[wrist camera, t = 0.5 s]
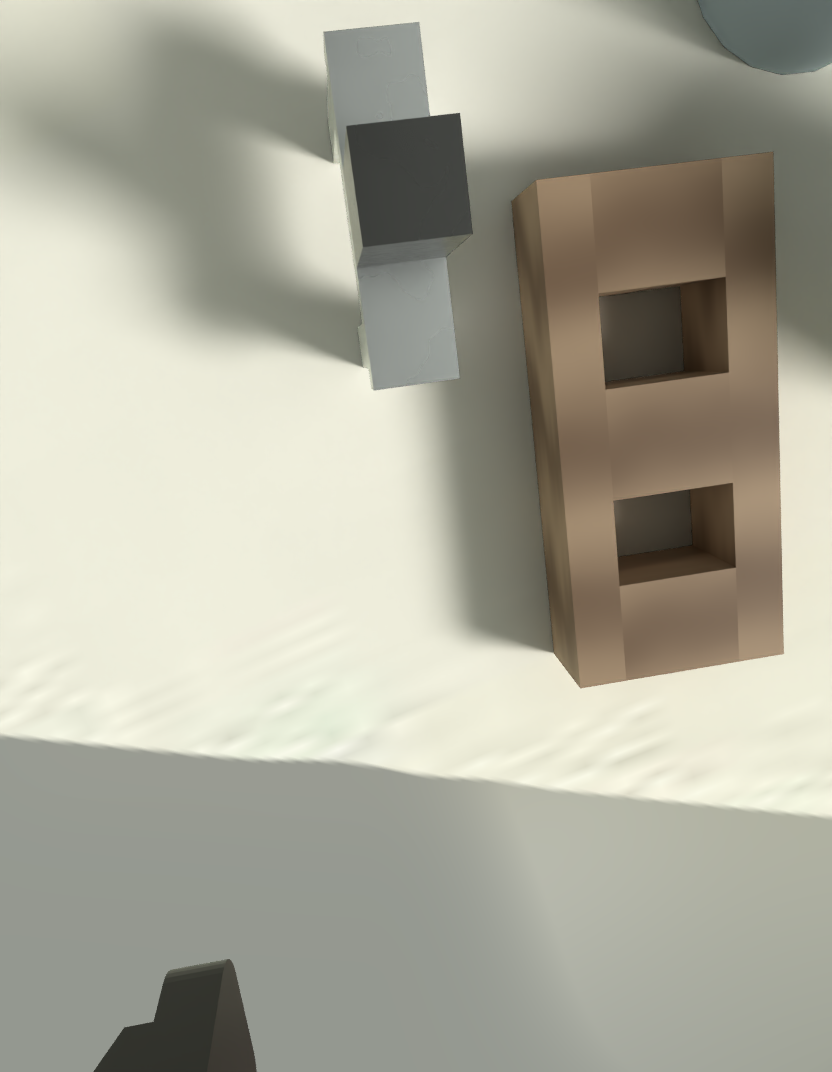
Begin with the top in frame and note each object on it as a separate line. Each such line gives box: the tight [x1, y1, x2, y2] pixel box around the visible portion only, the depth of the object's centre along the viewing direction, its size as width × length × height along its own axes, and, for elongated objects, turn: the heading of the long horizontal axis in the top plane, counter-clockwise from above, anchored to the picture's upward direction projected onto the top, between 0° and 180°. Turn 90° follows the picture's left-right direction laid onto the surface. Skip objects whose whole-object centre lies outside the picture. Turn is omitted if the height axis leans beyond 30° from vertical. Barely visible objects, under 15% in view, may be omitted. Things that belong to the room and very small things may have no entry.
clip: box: [323, 22, 473, 390], centre depth 26 cm, size 11×3×12 cm, turn 8°
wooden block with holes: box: [511, 152, 784, 688], centre depth 33 cm, size 20×9×4 cm, turn 8°
